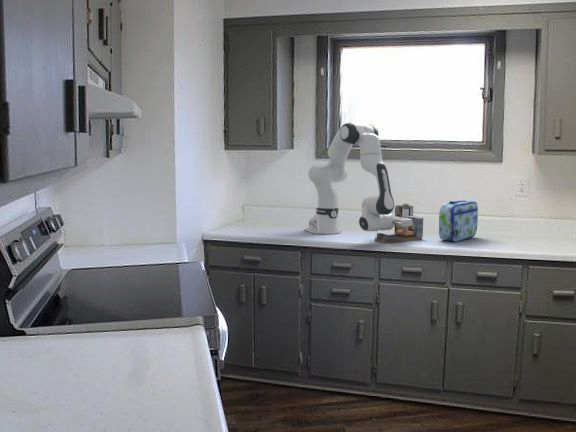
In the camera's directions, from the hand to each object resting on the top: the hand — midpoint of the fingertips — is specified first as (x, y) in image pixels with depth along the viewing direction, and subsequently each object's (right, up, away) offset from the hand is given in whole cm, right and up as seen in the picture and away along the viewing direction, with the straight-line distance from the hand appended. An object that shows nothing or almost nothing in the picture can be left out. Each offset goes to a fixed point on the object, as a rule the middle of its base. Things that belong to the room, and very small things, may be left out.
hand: (406, 219), depth 333 cm
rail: (-4, -11, -1) cm, 12 cm away
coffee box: (+1, -9, +16) cm, 19 cm away
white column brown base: (-1, -8, +1) cm, 8 cm away
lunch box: (+28, -11, +1) cm, 30 cm away
